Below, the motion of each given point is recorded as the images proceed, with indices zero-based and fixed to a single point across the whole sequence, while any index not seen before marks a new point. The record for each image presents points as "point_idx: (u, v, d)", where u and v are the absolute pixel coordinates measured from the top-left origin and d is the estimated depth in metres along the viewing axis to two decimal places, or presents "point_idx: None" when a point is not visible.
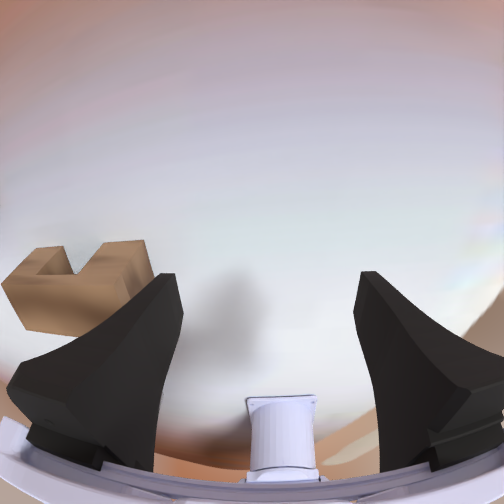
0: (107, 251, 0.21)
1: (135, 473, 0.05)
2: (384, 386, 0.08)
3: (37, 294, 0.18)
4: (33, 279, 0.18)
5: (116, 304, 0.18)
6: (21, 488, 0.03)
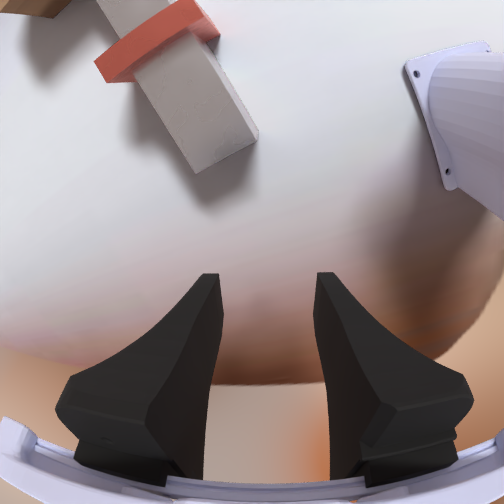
0: None
1: None
2: (333, 391, 0.08)
3: None
4: None
5: None
6: (21, 488, 0.03)
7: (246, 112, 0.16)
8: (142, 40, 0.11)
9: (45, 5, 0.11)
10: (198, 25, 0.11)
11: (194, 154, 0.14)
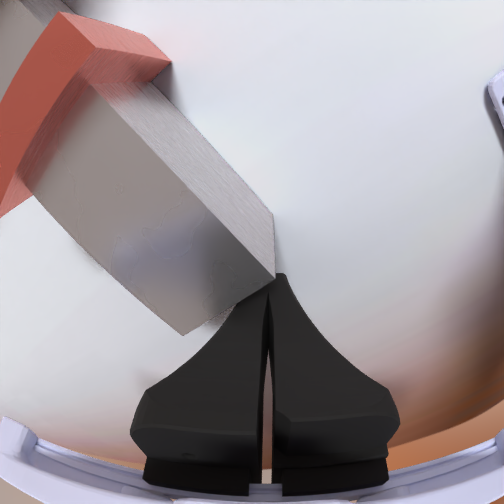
0: None
1: (135, 473, 0.05)
2: None
3: None
4: None
5: None
6: (21, 488, 0.03)
7: (246, 199, 0.09)
8: (9, 136, 0.05)
9: None
10: (100, 68, 0.05)
11: (169, 310, 0.08)
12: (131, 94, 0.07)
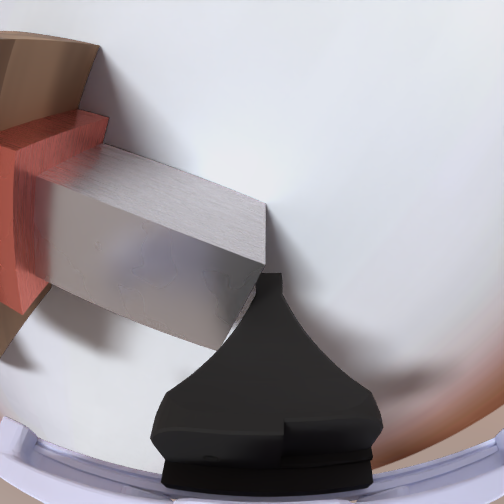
0: None
1: (135, 473, 0.05)
2: None
3: None
4: None
5: None
6: (21, 488, 0.03)
7: (225, 201, 0.10)
8: None
9: None
10: (36, 161, 0.06)
11: (193, 331, 0.09)
12: (79, 164, 0.08)
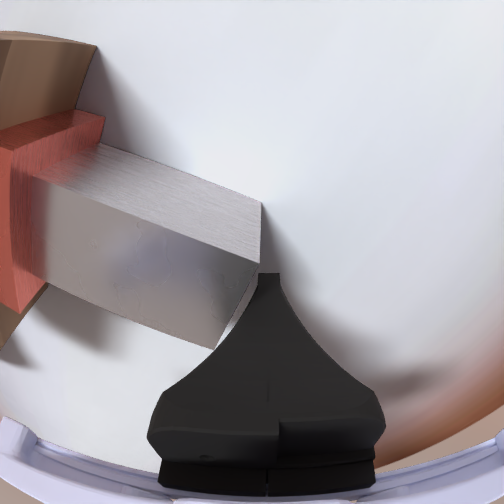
0: None
1: (135, 473, 0.05)
2: None
3: None
4: None
5: None
6: (21, 488, 0.03)
7: (220, 200, 0.10)
8: None
9: None
10: (31, 160, 0.06)
11: (189, 330, 0.09)
12: (75, 164, 0.08)
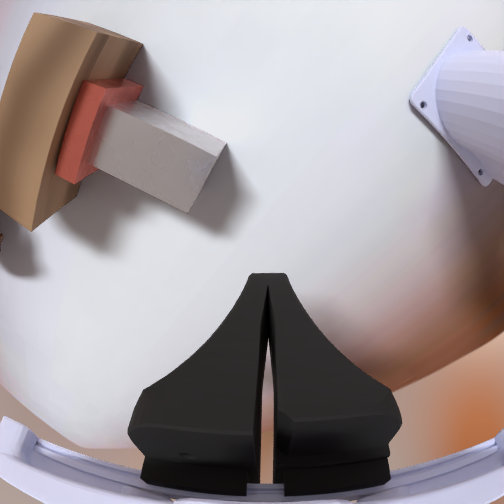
0: None
1: (135, 473, 0.05)
2: (274, 394, 0.08)
3: None
4: None
5: (47, 23, 0.09)
6: (21, 488, 0.03)
7: (202, 135, 0.16)
8: (76, 137, 0.13)
9: (64, 195, 0.18)
10: (110, 97, 0.13)
11: (175, 198, 0.16)
12: (128, 106, 0.14)
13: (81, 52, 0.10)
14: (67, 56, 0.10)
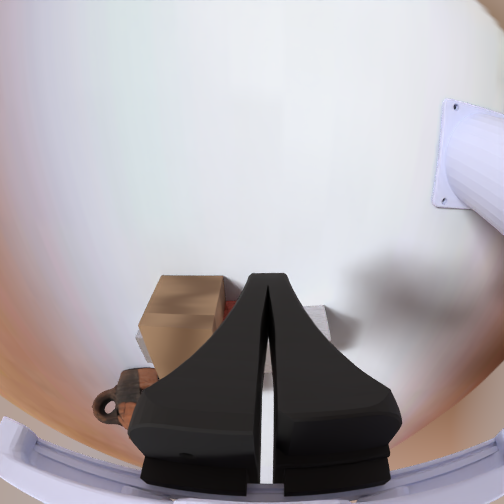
0: None
1: (135, 473, 0.05)
2: (274, 394, 0.08)
3: None
4: None
5: (160, 330, 0.19)
6: (21, 488, 0.03)
7: (309, 316, 0.24)
8: None
9: None
10: None
11: None
12: None
13: None
14: (199, 345, 0.19)
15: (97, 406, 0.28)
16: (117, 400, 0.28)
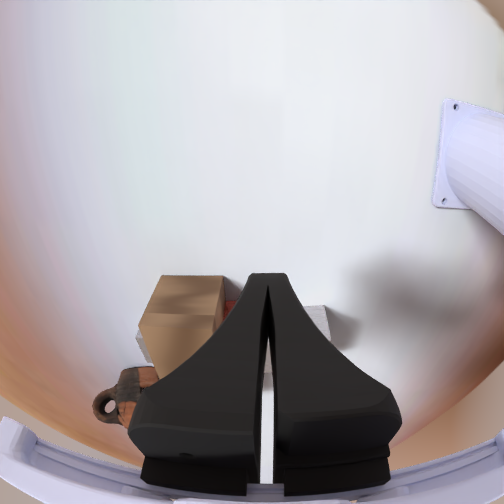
0: None
1: (135, 473, 0.05)
2: (274, 394, 0.08)
3: None
4: None
5: (160, 330, 0.19)
6: (21, 488, 0.03)
7: (309, 316, 0.24)
8: None
9: None
10: None
11: None
12: None
13: None
14: (199, 345, 0.19)
15: (97, 405, 0.28)
16: (117, 399, 0.28)
